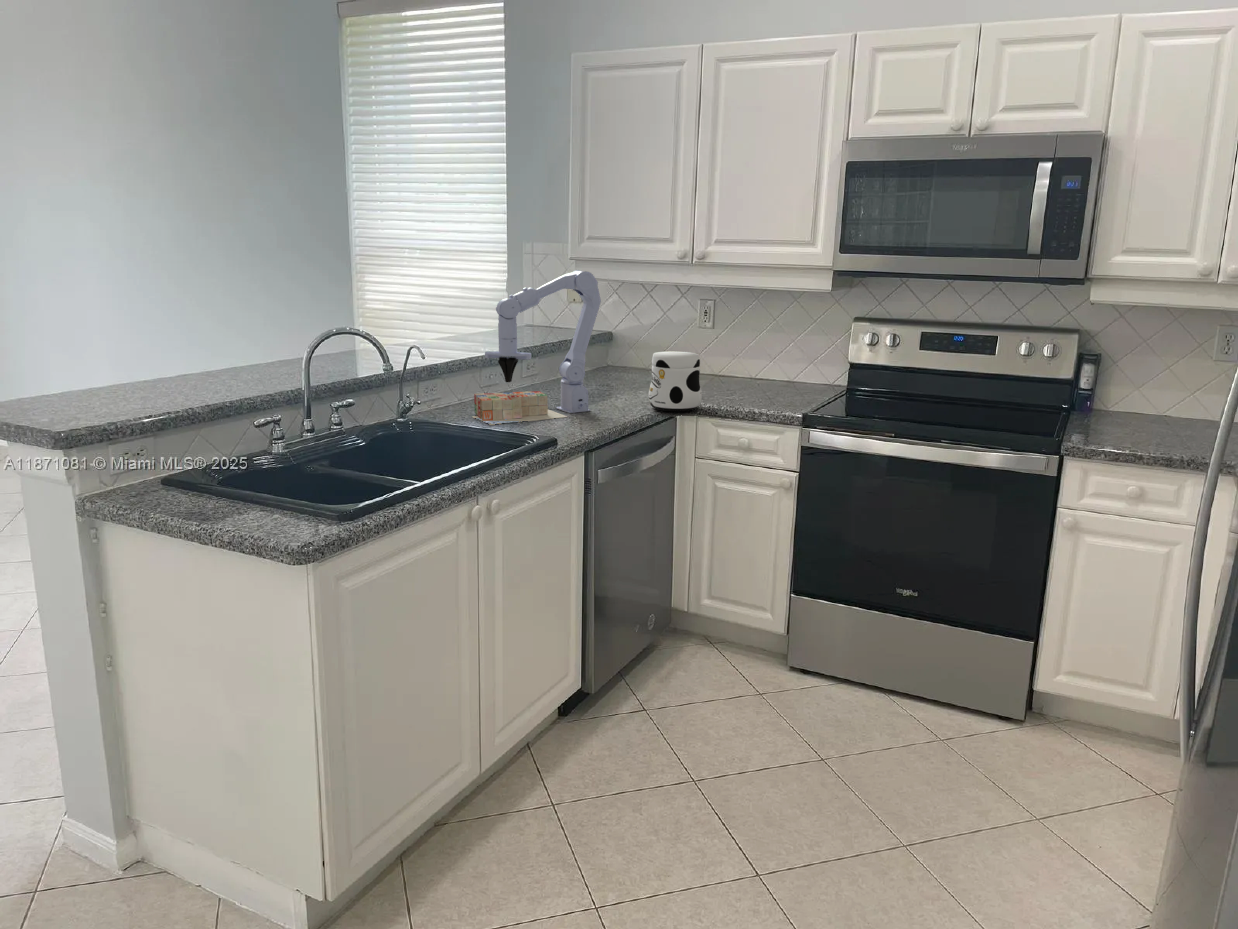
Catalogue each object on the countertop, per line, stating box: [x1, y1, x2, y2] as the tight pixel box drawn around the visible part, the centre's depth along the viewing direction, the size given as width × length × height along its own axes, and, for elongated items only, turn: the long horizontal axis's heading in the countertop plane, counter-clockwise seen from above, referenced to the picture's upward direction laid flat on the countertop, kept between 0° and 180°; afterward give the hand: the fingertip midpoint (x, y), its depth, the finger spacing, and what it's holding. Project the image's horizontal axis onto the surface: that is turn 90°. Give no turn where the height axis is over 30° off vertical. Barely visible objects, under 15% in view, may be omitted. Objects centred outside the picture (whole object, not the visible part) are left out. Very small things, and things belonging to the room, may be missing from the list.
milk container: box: [648, 350, 703, 412], centre depth 292 cm, size 17×17×18 cm
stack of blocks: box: [473, 390, 549, 421], centre depth 280 cm, size 21×6×12 cm
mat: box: [471, 409, 569, 426], centre depth 279 cm, size 14×26×1 cm, turn 122°
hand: (508, 381), depth 282 cm, fingers closed
